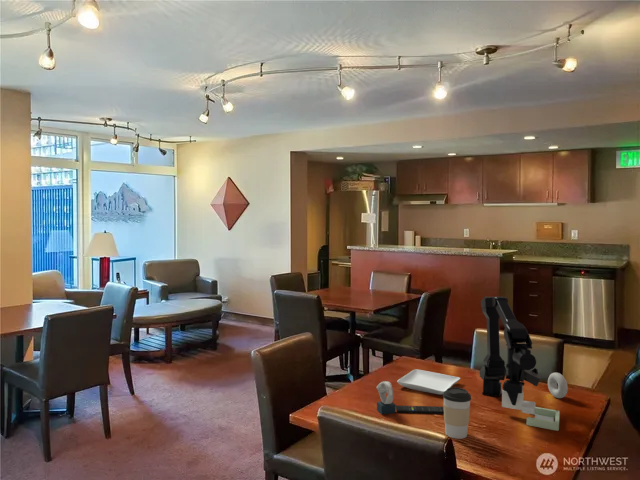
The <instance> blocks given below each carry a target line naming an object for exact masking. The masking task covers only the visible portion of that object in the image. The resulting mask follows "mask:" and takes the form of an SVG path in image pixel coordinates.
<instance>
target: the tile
mask: <svg viewBox="0 0 640 480" xmlns="http://www.w3.org/2000/svg"><path fill="white" fill-rule="evenodd" d="M534 418H537V419H543V420H548V421H555V418H553V417H547V416H542V415H536V414H535V415H534Z"/></svg>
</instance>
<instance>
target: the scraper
mask: <svg viewBox="0 0 640 480" xmlns="http://www.w3.org/2000/svg"><path fill="white" fill-rule="evenodd" d="M536 407H537V405H536V402H535V401H529V400H524V391H522V393H518V397H517V401H516V405H512V403H511V401H510V398H509V396H508V394H507V391H504V390H503V389H502V392H501V408H507V409H513V410H520V411H521V413H523V414H529V415H534V414H535V408H536Z"/></svg>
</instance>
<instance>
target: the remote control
mask: <svg viewBox="0 0 640 480" xmlns="http://www.w3.org/2000/svg"><path fill="white" fill-rule="evenodd" d="M395 405H396V410H395V411H396V413H397V414H428V415H444V406H436V405H435V406H432V405H431V406H429V405H402V404H401V405H397V404H395Z"/></svg>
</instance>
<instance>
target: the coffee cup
mask: <svg viewBox="0 0 640 480" xmlns="http://www.w3.org/2000/svg"><path fill="white" fill-rule="evenodd" d="M442 398H443V404H442V405H443V406H442V407H444V414H443V419H444V428H445V429H444V431H445V435H446V436H447V435H448V436H447V437H449V438H452V439H458V440H461V439H465V438H467V436H468V429H469V423H470V412H471V400H472V395H471V393H469V391H468V390H467V389H466V388H461V387H454V386H452V387H451V388H448V389H447V390H446V391H444V392H443V394H442Z"/></svg>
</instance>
